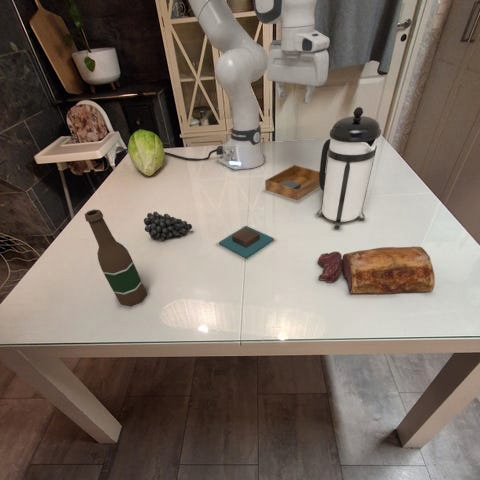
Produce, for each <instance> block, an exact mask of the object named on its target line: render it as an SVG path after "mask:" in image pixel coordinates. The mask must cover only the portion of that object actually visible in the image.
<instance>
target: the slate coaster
mask: <svg viewBox="0 0 480 480" xmlns="http://www.w3.org/2000/svg"><path fill="white" fill-rule="evenodd" d="M281 185H284V186H287V187H290V188H293V189H297V190H298V189H300V188H301V184H300V183H297V182H294V181H290V180H287V181H285V182H284V183H282V184H281Z"/></svg>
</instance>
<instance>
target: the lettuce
mask: <svg viewBox="0 0 480 480" xmlns="http://www.w3.org/2000/svg"><path fill="white" fill-rule="evenodd" d="M127 144H128V145H127V149H128V151H127V152H128V156H129V158H130V160H131V163H132V165H133V166H134V167H135V168H136V169H137V170H138V171H139V172H141V173H142V174H144V175H145V176H148V177H149V176H153V175H154V174H155V172H157V171H158V170H159V169H161V168H162V166H163V165H164V162H165V156H166V154H165V152H166V151H165V148H164V145H163V142H162V139H161V138H160V137H159V136H158V135H157V134H156V133H154V132H153V131H151V130H145V129H141V128H140V129H137V130H136V131H134V132H133V133H132V135H131V136H130V137H129V141H128V143H127Z"/></svg>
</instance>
